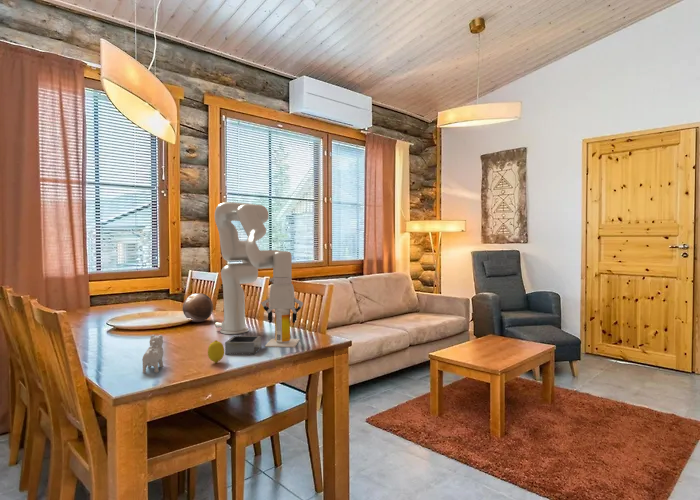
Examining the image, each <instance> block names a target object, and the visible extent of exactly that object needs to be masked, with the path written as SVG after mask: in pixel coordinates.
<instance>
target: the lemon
mask: <svg viewBox="0 0 700 500" xmlns="http://www.w3.org/2000/svg"><path fill="white" fill-rule="evenodd" d="M207 348H208V349H207V356H208V360H209V359H210V361H211V362H214V363H215V364H217V363H218V362H219V361H221V360H222V359H223V357H224V356H225V355H224V354H225V346H224V344H223V343H222V342H220V341H218V340H214V341H213V342H211V343H210V344H209V346H208V347H207Z"/></svg>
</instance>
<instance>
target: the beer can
mask: <svg viewBox="0 0 700 500" xmlns="http://www.w3.org/2000/svg"><path fill="white" fill-rule="evenodd" d="M274 328H275V329H274V332H275V334H274V335H275V338H274V339H275V341H276V342H277V343H288V342H289V341H290V339H291V309H274Z"/></svg>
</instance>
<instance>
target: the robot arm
mask: <svg viewBox="0 0 700 500" xmlns="http://www.w3.org/2000/svg"><path fill="white" fill-rule="evenodd" d="M268 220H269V210H268V209H267V208H266V206H264V205H262V204H254V203H246V202H244V203H242V202H234V201H233V202H231V201H230V202H229V201H228V202H222V203H219V204H218V205H217V206H216V207H215V210H214V222H215V225H216V227H217V231H218V235H219V243H220V251H221V256H222V259H223V260H225V261H227V262H239V261H241V262H242V263H229V264H226V265H225V266H223V267H222V269H221V271H220V279H221V283H222V291H223V321H222V322H215V323H214V326H215V328H220V330H219V331H220V334H224V335H239V334H244V333H248V331H249V328H248V327H246V315H245V313H246V311H245V309H246V302H245V298H246V297H245V296H246V295H245V290H244V288H243V287H242V286H241V284H251V283H254V282H256V281H257V280H258V276H259V269H261V270H262V269H272V272H273V273H272V277H270V278H269V282H272V284H271V285H270V288H269V289H270V290H269V297H268V298H267V299H265V300H263V301H261V306H262V308H263V309H264V310H265V311H266V313H267V321H268V323H269V324H271V323H272V322H273V312H272V311H273V310H275V309H290V311H291V312H292V318H291V319H292V324H295V323H296V321H297V318H298V317H297V316H298V314H297V313H298V312H299V311H300V310H301V309H302V307H303V306H304V302H303V301H302V300H300V299H298V298H297V297H296V295H295V288H294V283H292V278H293V277H292V267H293V266H292V256H293V255H292V252H290V251H288V250H287V251H286V250H285V251H284V250H282V251H281V250H276V249H272V250H271V249H269V250H268V249H267V250H261V249H260V248H259V247H258V245H257V243H256V242H257V241H259V240H261V239H262V238H263V237H264V236H265V235H266V234H267V229H266V226H265V224H264V223H266V222H267V221H268ZM234 221H235V222H240V224H241V226H242V228H243V230H244V232H245V234H246V236H247V238H246V240H240V238H239V233H238V232H239V231H238V229H237V228H236V226H235V225H234V223H232V222H234ZM267 303H268V306H269V307H268V306H267ZM296 304H298V306H297V307H295V305H296Z"/></svg>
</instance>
